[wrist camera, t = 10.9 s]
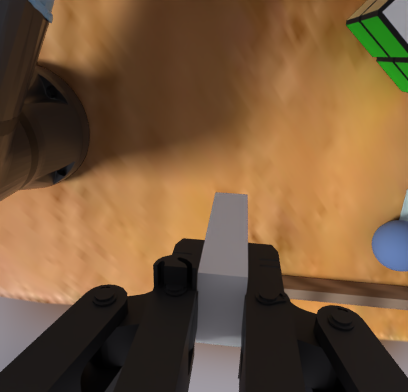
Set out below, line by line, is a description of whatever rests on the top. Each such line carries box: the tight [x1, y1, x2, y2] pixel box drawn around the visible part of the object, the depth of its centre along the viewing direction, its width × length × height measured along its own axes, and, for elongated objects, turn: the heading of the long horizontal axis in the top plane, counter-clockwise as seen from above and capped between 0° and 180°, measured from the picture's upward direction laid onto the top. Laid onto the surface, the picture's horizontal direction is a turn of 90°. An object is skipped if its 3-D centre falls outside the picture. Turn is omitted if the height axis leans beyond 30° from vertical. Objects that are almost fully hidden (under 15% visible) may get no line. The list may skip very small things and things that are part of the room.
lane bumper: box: [282, 275, 408, 310], centre depth 43 cm, size 33×19×3 cm, turn 88°
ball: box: [372, 220, 408, 271], centre depth 41 cm, size 6×6×6 cm
